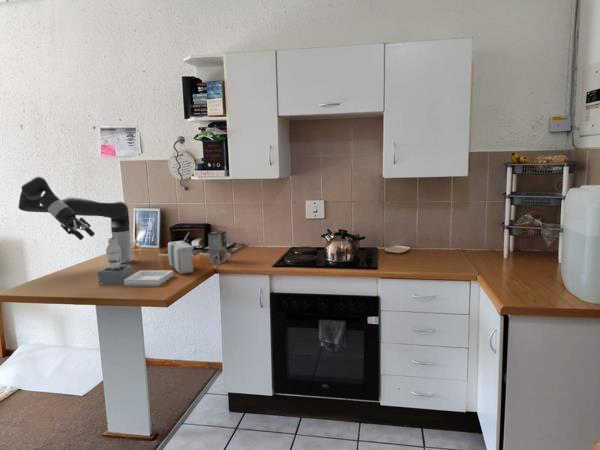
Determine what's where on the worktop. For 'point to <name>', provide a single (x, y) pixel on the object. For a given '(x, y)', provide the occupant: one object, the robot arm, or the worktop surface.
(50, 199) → the robot arm
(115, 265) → the plastic bottle
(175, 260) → the stereo radio cassette player
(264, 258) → the worktop surface
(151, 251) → the worktop surface
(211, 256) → the coffee box
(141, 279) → the tray
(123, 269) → the grey open box
